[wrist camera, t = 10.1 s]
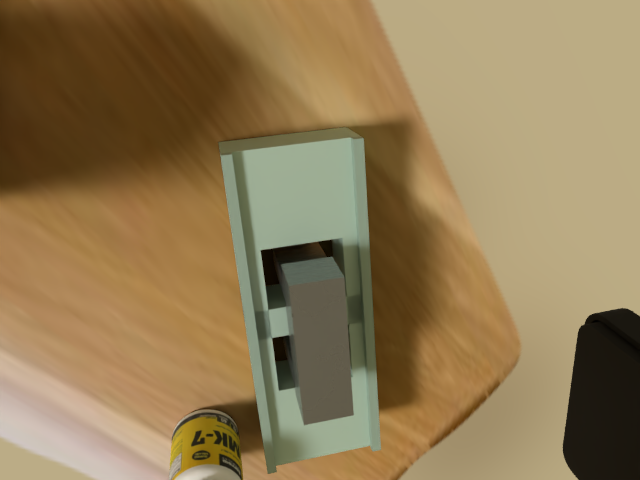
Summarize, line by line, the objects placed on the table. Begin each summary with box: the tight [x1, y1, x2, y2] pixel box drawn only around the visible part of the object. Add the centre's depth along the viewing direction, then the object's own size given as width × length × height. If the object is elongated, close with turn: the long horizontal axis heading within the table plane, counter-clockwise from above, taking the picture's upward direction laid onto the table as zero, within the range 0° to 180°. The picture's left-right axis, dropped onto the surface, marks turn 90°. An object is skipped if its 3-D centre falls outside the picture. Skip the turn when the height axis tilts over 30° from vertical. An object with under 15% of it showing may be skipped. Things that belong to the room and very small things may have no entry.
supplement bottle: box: [169, 409, 243, 480], centre depth 37 cm, size 5×5×8 cm
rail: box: [218, 127, 381, 474], centre depth 37 cm, size 22×8×4 cm, turn 5°
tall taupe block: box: [272, 242, 354, 425], centre depth 35 cm, size 9×3×8 cm, turn 5°
